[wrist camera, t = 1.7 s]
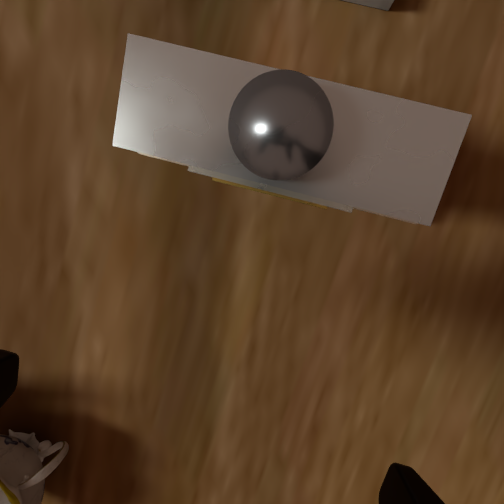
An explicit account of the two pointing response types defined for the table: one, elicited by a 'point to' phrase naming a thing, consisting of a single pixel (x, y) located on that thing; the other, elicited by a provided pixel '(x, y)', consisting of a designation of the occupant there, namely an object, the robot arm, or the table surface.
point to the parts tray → (374, 3)
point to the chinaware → (26, 467)
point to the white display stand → (286, 131)
